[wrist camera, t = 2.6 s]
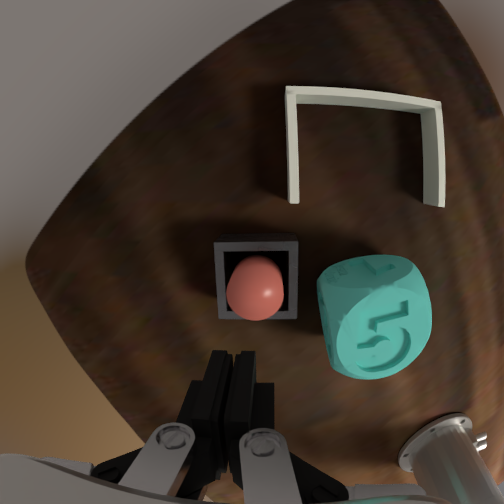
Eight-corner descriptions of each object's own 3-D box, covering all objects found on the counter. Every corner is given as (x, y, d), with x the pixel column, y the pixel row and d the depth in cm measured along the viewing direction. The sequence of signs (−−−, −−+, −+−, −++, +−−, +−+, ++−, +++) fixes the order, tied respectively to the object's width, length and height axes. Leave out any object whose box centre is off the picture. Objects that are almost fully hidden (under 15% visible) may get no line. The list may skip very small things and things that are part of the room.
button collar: (294, 232, 27) (298, 241, 23) (293, 301, 28) (296, 318, 24) (221, 234, 27) (213, 242, 23) (225, 301, 28) (218, 318, 25)
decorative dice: (393, 248, 26) (433, 273, 19) (397, 323, 28) (429, 365, 20) (312, 265, 27) (327, 298, 19) (323, 341, 29) (337, 390, 21)
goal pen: (425, 108, 23) (440, 101, 20) (429, 203, 25) (444, 206, 22) (284, 96, 24) (286, 86, 21) (287, 200, 26) (289, 203, 23)
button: (282, 254, 24) (283, 266, 21) (282, 301, 25) (283, 320, 22) (231, 255, 24) (224, 267, 21) (233, 302, 25) (227, 320, 22)
